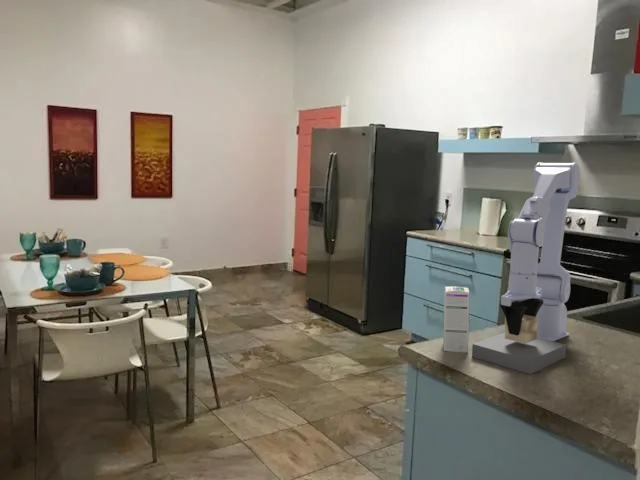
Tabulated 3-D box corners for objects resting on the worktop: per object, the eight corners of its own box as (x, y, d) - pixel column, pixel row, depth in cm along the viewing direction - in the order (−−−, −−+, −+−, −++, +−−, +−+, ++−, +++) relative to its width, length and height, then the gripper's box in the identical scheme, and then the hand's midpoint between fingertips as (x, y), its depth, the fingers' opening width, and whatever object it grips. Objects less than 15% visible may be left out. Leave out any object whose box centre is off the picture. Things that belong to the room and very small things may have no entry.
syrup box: (468, 353, 128) (471, 291, 126) (442, 351, 129) (444, 290, 127) (467, 345, 133) (469, 286, 132) (442, 343, 135) (444, 285, 133)
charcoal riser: (509, 342, 136) (509, 330, 136) (565, 357, 126) (566, 344, 125) (471, 356, 125) (472, 344, 125) (530, 374, 115) (530, 360, 115)
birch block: (515, 333, 128) (516, 313, 128) (536, 338, 125) (537, 317, 124) (504, 338, 125) (505, 316, 124) (525, 343, 121) (526, 321, 121)
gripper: (523, 279, 115) (520, 342, 117) (556, 271, 125) (552, 329, 127) (493, 274, 121) (490, 334, 122) (527, 267, 130) (523, 323, 132)
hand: (520, 331), depth 125 cm, fingers closed on birch block, 5 cm apart
